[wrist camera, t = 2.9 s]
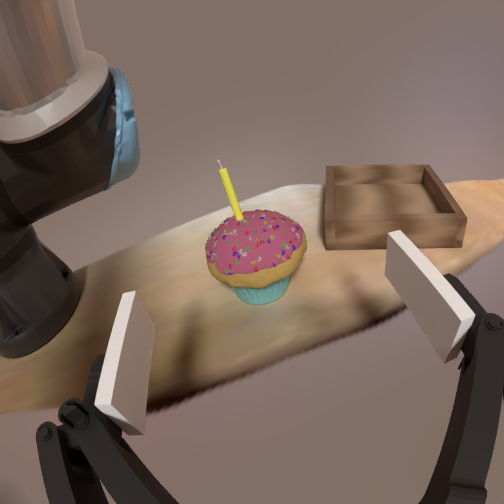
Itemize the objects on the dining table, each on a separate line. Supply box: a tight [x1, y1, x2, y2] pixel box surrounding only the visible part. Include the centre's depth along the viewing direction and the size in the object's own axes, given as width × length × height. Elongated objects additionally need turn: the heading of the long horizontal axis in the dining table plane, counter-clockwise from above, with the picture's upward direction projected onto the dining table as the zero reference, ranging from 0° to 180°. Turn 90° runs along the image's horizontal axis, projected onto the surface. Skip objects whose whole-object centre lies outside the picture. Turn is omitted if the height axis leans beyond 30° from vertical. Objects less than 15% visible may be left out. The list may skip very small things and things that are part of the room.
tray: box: [324, 165, 467, 250], centre depth 34 cm, size 15×15×4 cm
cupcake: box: [205, 159, 307, 305], centre depth 25 cm, size 9×8×12 cm
